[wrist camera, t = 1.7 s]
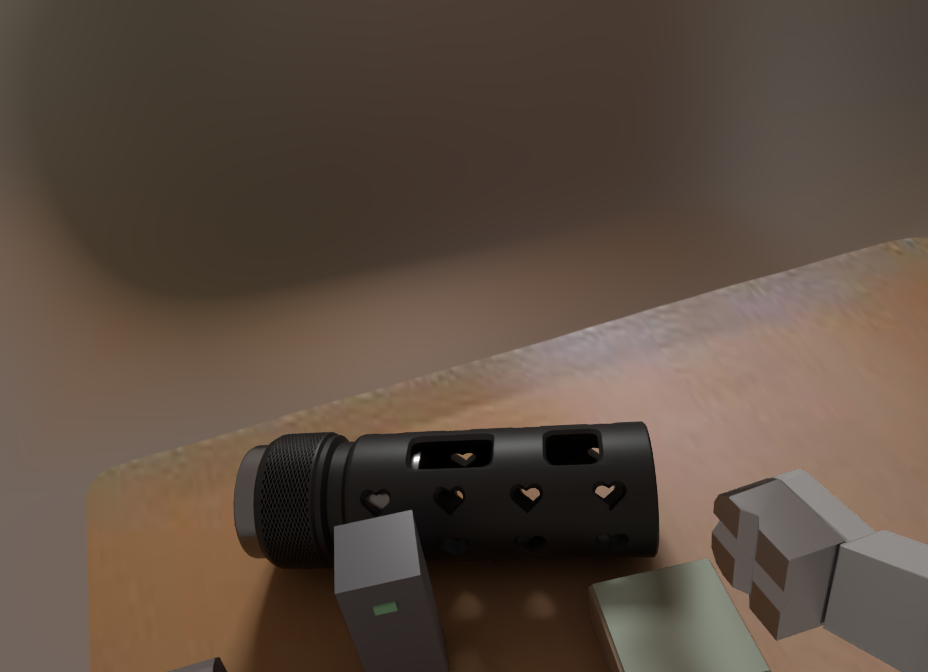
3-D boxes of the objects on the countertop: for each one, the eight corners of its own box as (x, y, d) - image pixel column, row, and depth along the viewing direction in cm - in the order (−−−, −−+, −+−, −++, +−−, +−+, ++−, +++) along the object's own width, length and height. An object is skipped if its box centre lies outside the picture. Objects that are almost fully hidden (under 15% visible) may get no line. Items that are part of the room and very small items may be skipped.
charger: (441, 623, 47) (411, 502, 40) (453, 698, 43) (420, 577, 36) (376, 638, 47) (334, 519, 40) (381, 715, 42) (334, 596, 36)
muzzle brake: (657, 599, 46) (662, 493, 41) (260, 604, 50) (212, 507, 44) (639, 491, 54) (640, 388, 48) (296, 502, 58) (259, 408, 52)
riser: (705, 588, 46) (709, 554, 44) (767, 705, 40) (775, 672, 38) (589, 614, 46) (588, 581, 44) (633, 737, 39) (633, 706, 37)
